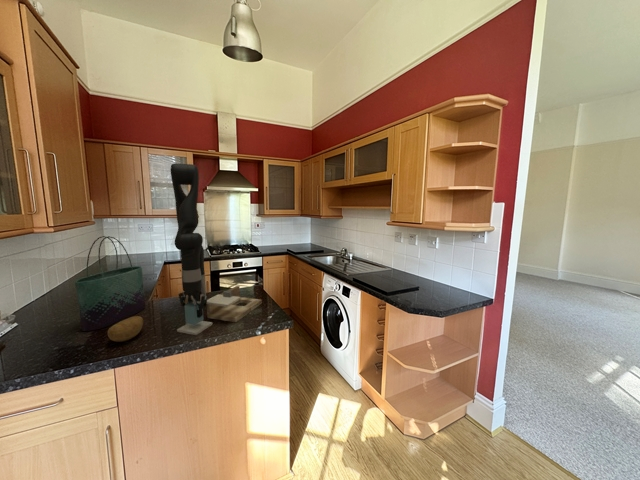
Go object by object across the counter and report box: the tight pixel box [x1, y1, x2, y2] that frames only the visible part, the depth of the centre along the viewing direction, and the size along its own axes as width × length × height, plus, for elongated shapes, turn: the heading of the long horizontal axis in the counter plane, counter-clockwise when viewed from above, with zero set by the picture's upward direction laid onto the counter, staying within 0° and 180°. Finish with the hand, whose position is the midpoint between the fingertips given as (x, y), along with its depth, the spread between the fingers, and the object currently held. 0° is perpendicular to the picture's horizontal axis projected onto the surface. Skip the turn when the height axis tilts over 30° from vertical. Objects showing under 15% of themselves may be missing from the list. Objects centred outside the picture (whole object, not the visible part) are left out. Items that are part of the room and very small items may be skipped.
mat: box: [176, 320, 213, 336], centre depth 113 cm, size 10×10×1 cm
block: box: [183, 302, 204, 325], centre depth 112 cm, size 5×5×8 cm
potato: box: [107, 315, 144, 343], centre depth 104 cm, size 10×14×8 cm
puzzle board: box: [206, 285, 263, 323], centre depth 131 cm, size 16×24×8 cm, turn 163°
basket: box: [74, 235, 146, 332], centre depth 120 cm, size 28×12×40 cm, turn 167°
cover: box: [207, 290, 242, 307], centre depth 121 cm, size 13×10×3 cm
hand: (194, 316), depth 112 cm, fingers closed on block, 5 cm apart
